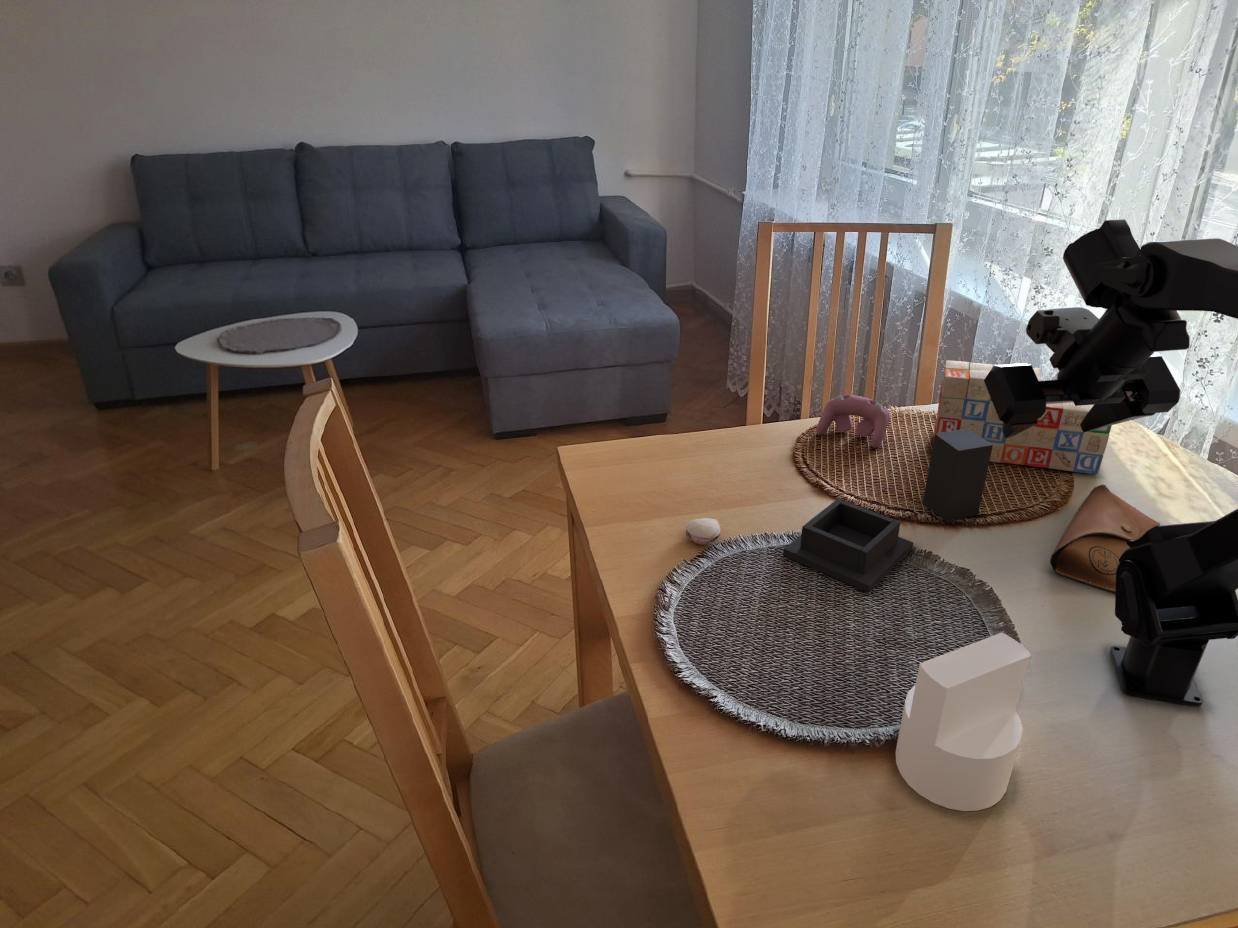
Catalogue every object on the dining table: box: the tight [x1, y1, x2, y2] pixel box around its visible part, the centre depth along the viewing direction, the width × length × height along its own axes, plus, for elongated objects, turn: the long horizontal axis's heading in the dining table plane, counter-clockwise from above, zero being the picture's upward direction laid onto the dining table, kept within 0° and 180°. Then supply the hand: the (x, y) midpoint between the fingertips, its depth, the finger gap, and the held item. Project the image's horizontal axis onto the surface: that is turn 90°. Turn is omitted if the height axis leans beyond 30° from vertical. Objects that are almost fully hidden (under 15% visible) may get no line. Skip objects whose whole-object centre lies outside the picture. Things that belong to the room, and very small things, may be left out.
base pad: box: [782, 498, 914, 593], centre depth 97 cm, size 11×11×4 cm
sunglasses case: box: [1049, 484, 1161, 593], centre depth 97 cm, size 18×7×7 cm, turn 141°
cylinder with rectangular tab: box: [895, 632, 1032, 812], centre depth 68 cm, size 9×9×12 cm
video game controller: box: [816, 394, 891, 449], centre depth 123 cm, size 10×5×7 cm, turn 58°
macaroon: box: [684, 517, 721, 546], centre depth 101 cm, size 4×5×2 cm
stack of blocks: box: [932, 359, 1113, 475], centre depth 115 cm, size 21×6×12 cm, turn 70°
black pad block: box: [922, 428, 993, 522], centre depth 104 cm, size 5×5×10 cm
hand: (1044, 431), depth 94 cm, fingers open, 9 cm apart
